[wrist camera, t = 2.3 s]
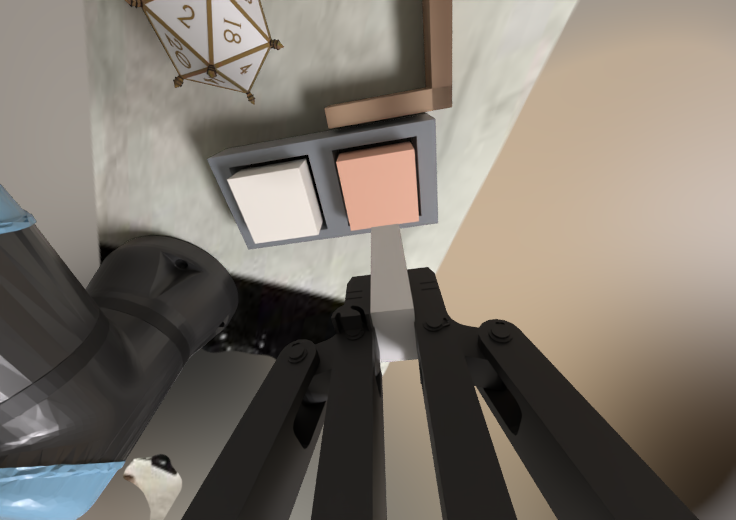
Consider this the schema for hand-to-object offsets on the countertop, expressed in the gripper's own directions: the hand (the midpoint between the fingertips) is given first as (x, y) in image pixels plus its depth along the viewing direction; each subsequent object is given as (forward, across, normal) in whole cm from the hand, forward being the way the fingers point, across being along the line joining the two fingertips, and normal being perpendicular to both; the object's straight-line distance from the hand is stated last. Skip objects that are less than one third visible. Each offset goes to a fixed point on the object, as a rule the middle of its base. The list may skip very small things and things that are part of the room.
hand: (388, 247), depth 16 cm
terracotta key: (+12, 0, 0) cm, 12 cm away
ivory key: (+12, -9, 0) cm, 15 cm away
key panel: (+15, -5, 0) cm, 15 cm away
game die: (+15, -10, +12) cm, 22 cm away
